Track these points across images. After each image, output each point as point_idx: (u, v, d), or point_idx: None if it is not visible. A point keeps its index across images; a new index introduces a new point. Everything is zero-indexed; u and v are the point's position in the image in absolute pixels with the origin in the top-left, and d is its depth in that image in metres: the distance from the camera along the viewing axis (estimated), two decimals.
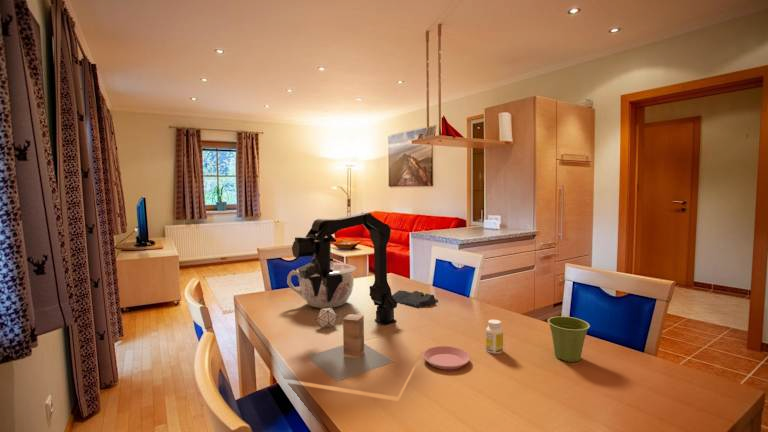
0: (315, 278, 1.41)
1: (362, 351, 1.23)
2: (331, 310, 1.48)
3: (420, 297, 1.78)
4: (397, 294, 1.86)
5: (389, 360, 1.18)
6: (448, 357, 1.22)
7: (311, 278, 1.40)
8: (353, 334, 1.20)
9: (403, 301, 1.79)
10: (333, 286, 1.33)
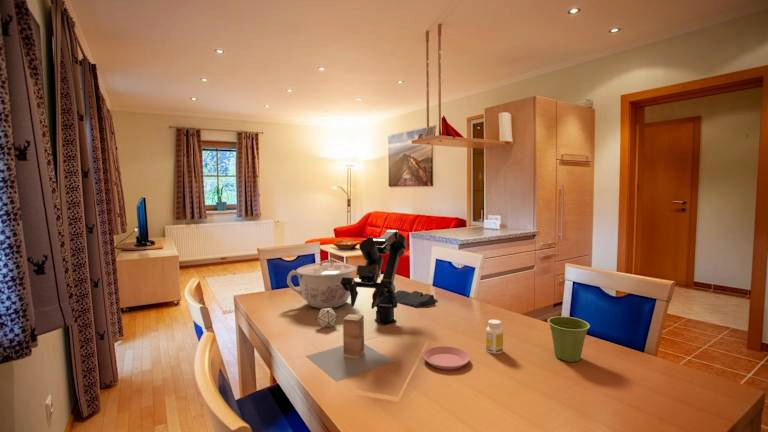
0: (355, 289, 1.35)
1: (362, 351, 1.23)
2: (331, 310, 1.48)
3: (419, 297, 1.78)
4: (396, 294, 1.86)
5: (389, 360, 1.18)
6: (448, 357, 1.22)
7: (354, 287, 1.34)
8: (353, 334, 1.20)
9: (402, 301, 1.79)
10: (380, 295, 1.33)
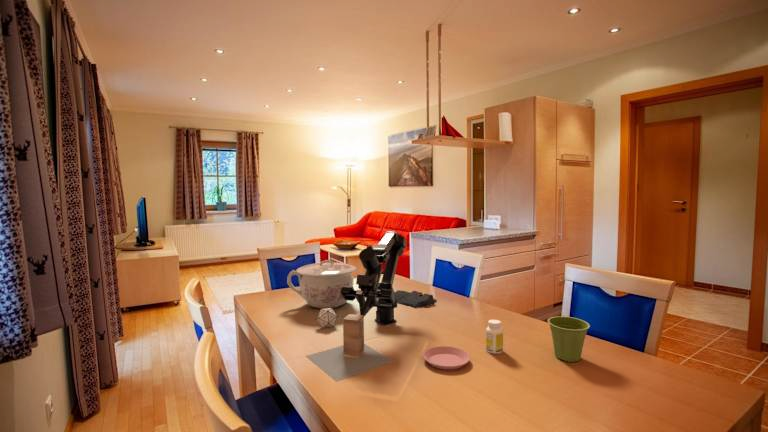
0: (364, 300, 1.34)
1: (362, 351, 1.23)
2: (331, 310, 1.48)
3: (419, 297, 1.78)
4: (396, 294, 1.86)
5: (389, 360, 1.18)
6: (448, 357, 1.22)
7: (363, 297, 1.33)
8: (353, 334, 1.20)
9: (402, 301, 1.79)
10: (370, 304, 1.33)
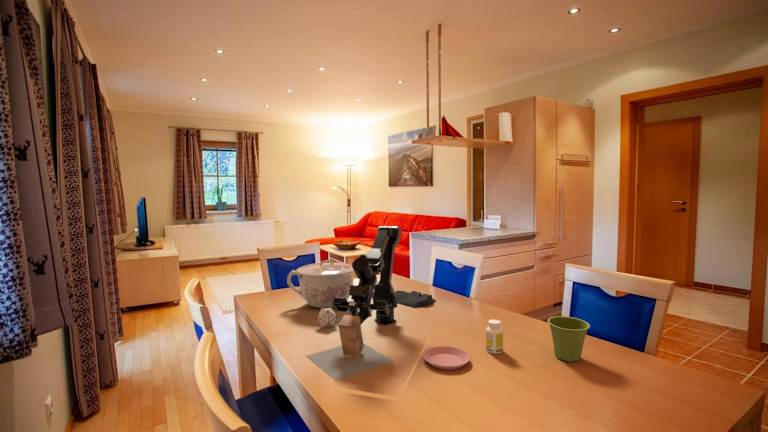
0: (357, 311, 1.27)
1: (361, 349, 1.23)
2: (331, 310, 1.48)
3: (418, 297, 1.78)
4: (395, 294, 1.86)
5: (389, 360, 1.18)
6: (448, 357, 1.22)
7: (356, 308, 1.26)
8: (350, 338, 1.18)
9: (401, 301, 1.79)
10: (364, 316, 1.27)
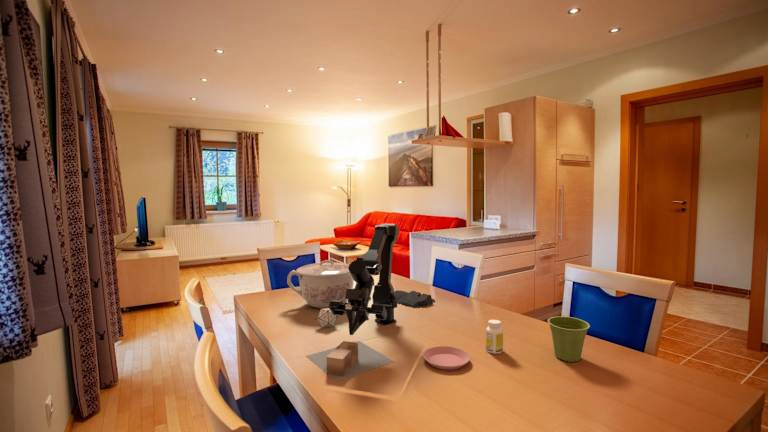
0: (354, 315, 1.25)
1: (357, 348, 1.19)
2: None
3: (417, 297, 1.78)
4: None
5: (389, 360, 1.18)
6: (448, 357, 1.22)
7: (352, 312, 1.23)
8: None
9: (400, 301, 1.79)
10: (360, 320, 1.24)
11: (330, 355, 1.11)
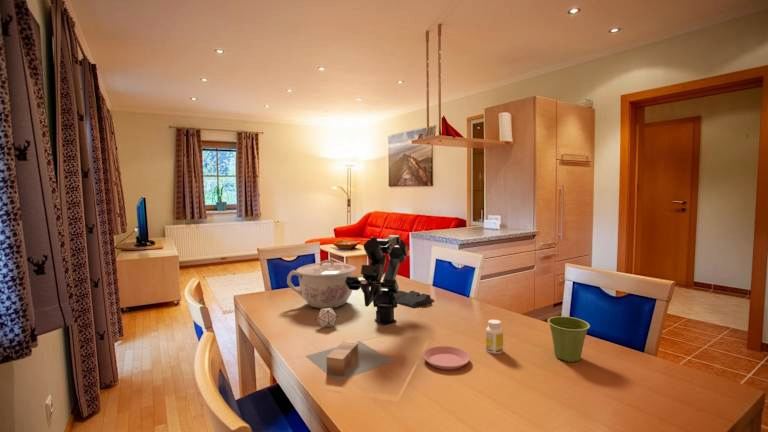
0: (368, 289, 1.37)
1: (357, 348, 1.19)
2: (331, 310, 1.48)
3: (416, 297, 1.78)
4: None
5: (389, 360, 1.18)
6: (448, 357, 1.22)
7: (367, 286, 1.36)
8: None
9: (399, 301, 1.79)
10: (375, 293, 1.37)
11: (330, 355, 1.11)
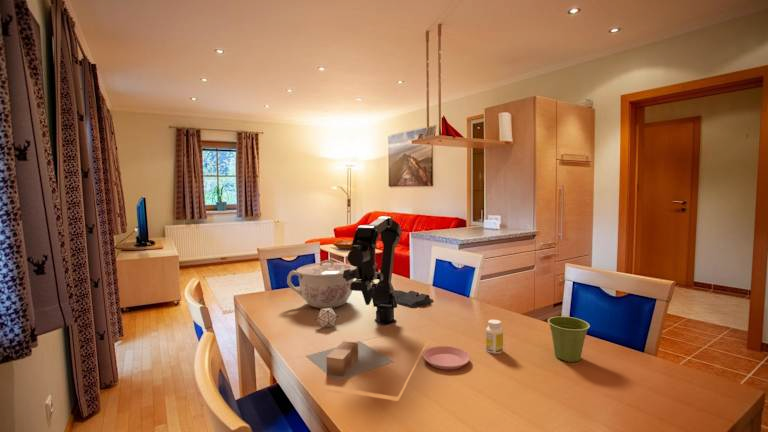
0: None
1: (357, 348, 1.19)
2: (331, 310, 1.48)
3: (415, 297, 1.78)
4: None
5: (389, 360, 1.18)
6: (448, 357, 1.22)
7: None
8: None
9: (398, 301, 1.79)
10: (368, 290, 1.35)
11: (330, 355, 1.11)
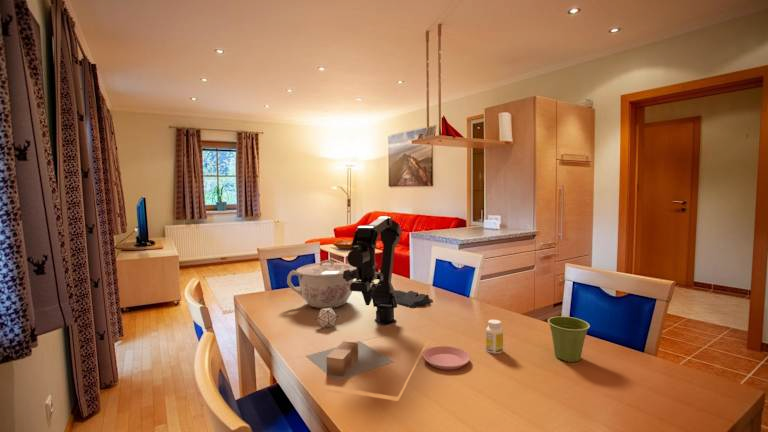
0: None
1: (357, 348, 1.19)
2: (331, 310, 1.48)
3: (414, 297, 1.78)
4: None
5: (389, 360, 1.18)
6: (448, 357, 1.22)
7: None
8: None
9: (397, 301, 1.79)
10: (368, 291, 1.35)
11: (330, 355, 1.11)
